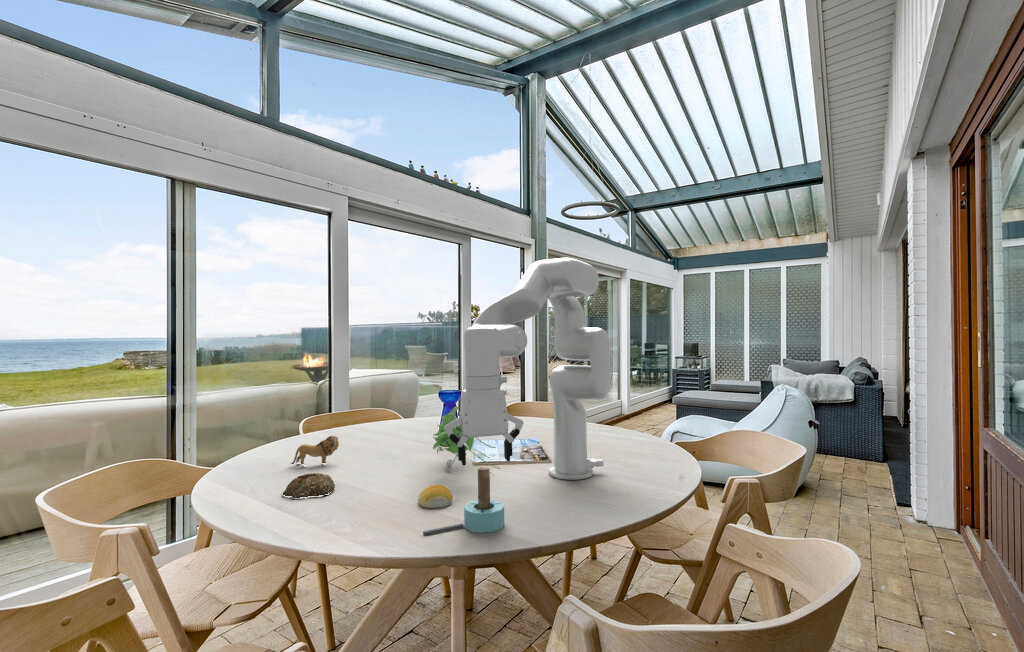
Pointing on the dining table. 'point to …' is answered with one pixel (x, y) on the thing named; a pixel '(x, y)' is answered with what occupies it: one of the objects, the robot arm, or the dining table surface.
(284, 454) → the dining table surface
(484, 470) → the round-ended wooden dowel
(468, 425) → the robot arm
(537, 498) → the dining table surface
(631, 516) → the dining table surface
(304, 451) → the lion figurine
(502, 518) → the bead
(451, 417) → the plant cuttings
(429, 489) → the bread roll
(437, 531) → the thin grey bar
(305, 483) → the brown rock
